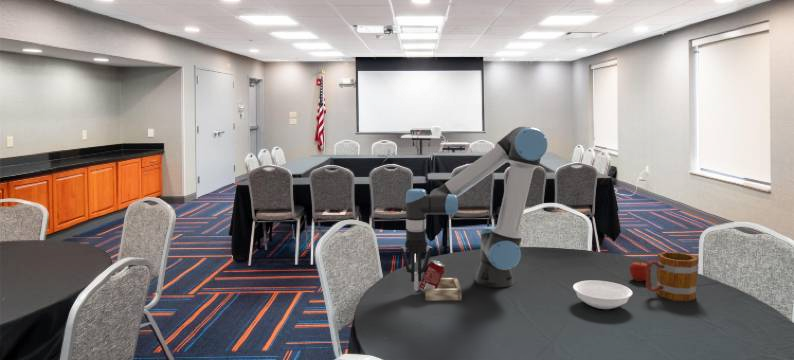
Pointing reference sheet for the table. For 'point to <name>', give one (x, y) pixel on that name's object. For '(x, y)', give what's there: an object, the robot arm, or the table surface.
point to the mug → (674, 276)
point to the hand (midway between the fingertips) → (416, 289)
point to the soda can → (432, 275)
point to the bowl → (602, 293)
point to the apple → (638, 271)
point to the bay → (445, 290)
